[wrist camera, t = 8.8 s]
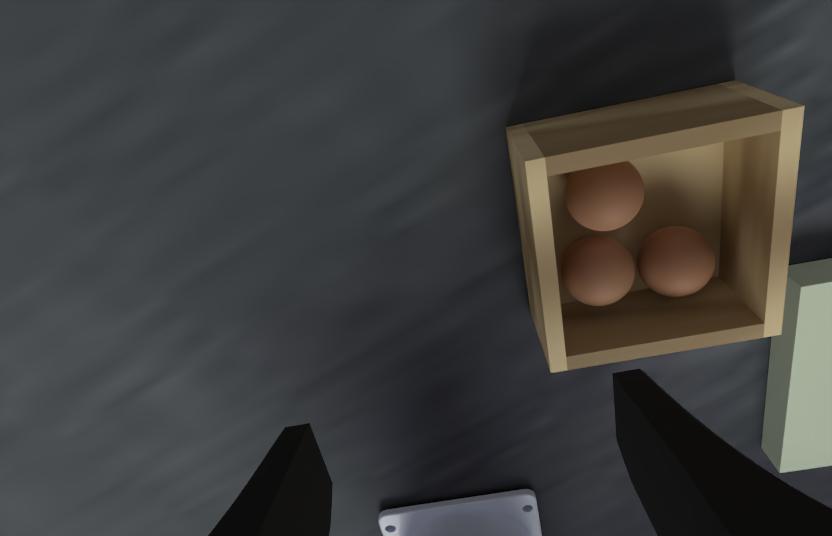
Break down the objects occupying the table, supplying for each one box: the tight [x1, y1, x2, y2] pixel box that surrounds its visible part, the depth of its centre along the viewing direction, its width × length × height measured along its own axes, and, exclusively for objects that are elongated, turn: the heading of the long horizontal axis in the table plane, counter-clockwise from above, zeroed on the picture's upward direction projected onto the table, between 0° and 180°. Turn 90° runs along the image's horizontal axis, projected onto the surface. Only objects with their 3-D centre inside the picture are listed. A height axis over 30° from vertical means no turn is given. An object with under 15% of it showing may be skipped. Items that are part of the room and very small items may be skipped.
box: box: [506, 80, 804, 373], centre depth 21 cm, size 8×8×4 cm
